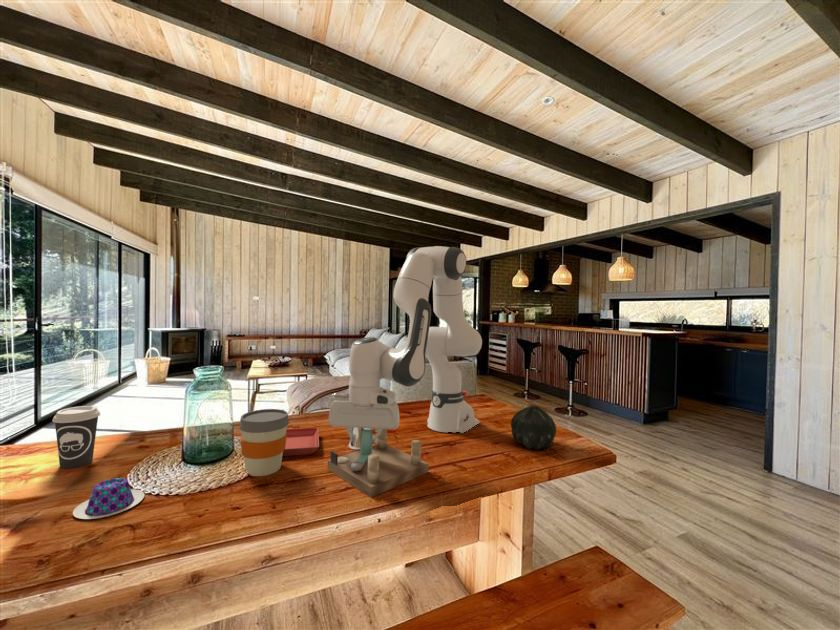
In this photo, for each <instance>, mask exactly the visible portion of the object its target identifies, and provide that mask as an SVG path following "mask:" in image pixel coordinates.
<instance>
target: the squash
mask: <svg viewBox="0 0 840 630" xmlns="http://www.w3.org/2000/svg"><path fill="white" fill-rule="evenodd" d="M510 428H511V436H512V437H513V439H514V440H515V441H516V442H518V443H519V444H521V445H523V446H525V447H526V448H527V449H529V450H530V449H532V448H533V449H535V450H538V451H539V450H541V449H548V448H550V446H551V445H552V444H553V442H554V440H555V437H556V434H557V426H556V422H555V421H554V419H553V418H552V416H551V415H550V414H549V413H547V412H546V411H545V410H543V409H542V408H540V407H539V406H537V405H530V406H527V407H524V408H522V409H521V410H518V411H517V412H515V413H514V414H513V417H512V418H511V420H510Z"/></svg>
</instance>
